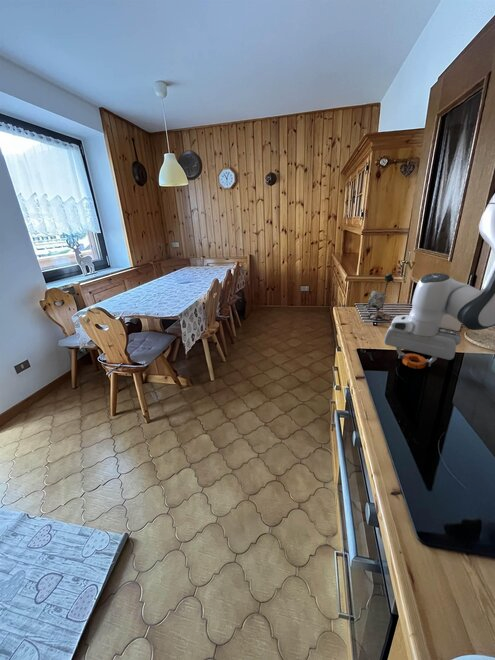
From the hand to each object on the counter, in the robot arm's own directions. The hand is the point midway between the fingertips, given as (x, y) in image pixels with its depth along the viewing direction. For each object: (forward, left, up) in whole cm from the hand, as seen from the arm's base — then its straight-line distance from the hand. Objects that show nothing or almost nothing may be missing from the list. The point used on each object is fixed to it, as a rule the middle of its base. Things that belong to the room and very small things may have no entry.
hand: (413, 361), depth 95 cm
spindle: (0, -12, 0) cm, 12 cm away
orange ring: (0, 0, 0) cm, 1 cm away
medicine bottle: (-7, -36, -1) cm, 37 cm away
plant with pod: (+20, -31, -1) cm, 37 cm away
